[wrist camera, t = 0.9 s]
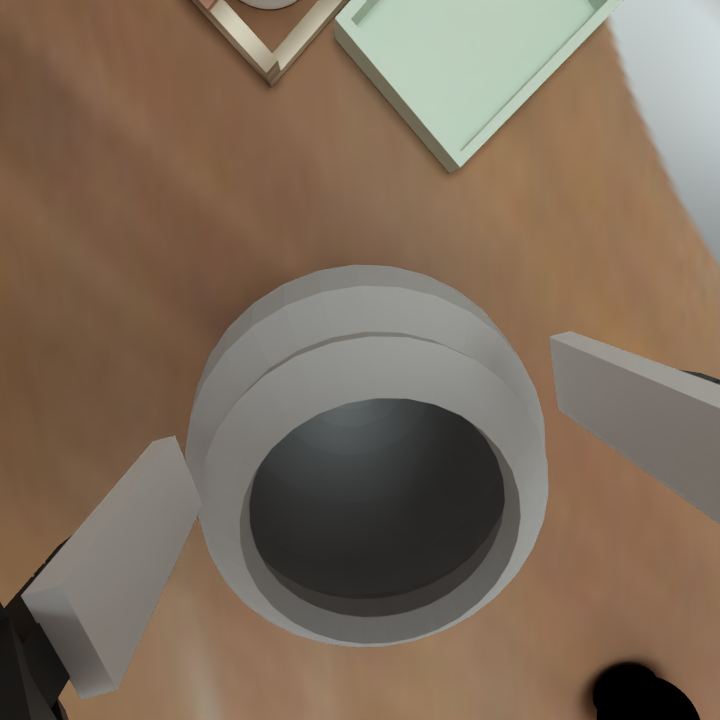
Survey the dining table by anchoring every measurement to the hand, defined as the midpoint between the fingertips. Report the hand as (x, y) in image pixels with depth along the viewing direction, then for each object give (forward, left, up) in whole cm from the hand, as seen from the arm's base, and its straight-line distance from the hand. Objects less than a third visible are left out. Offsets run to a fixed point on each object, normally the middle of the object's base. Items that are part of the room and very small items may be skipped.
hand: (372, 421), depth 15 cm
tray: (-9, +23, -25) cm, 35 cm away
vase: (+4, -3, -25) cm, 26 cm away
